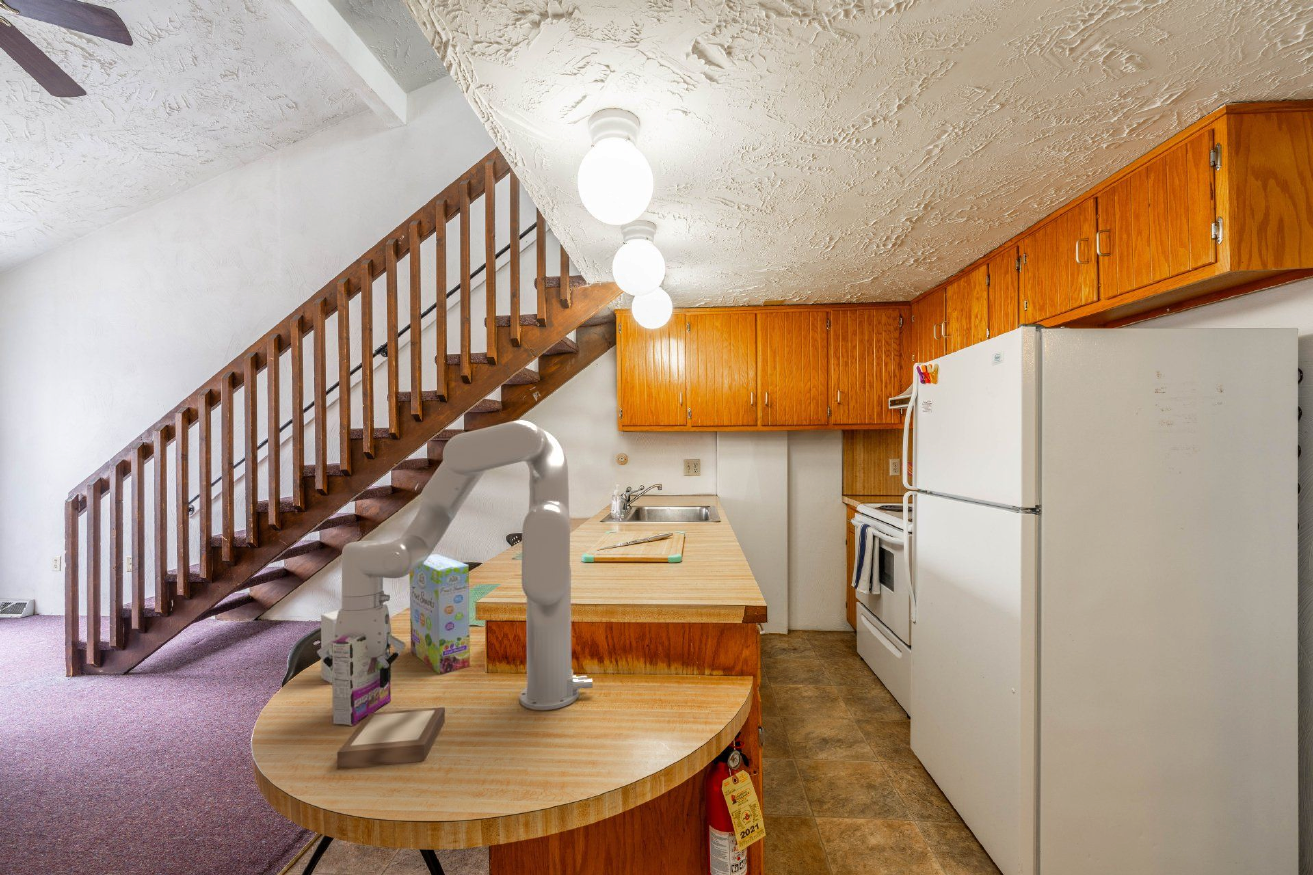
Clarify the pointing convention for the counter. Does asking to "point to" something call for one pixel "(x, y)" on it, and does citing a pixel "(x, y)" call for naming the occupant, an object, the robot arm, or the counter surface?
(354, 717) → the candy bar box
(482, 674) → the counter surface
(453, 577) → the snack box
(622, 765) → the counter surface
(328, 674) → the skincare box
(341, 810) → the counter surface
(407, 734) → the base
